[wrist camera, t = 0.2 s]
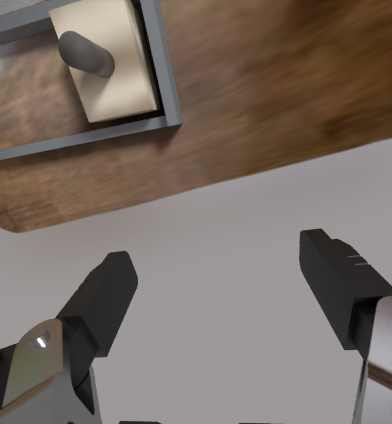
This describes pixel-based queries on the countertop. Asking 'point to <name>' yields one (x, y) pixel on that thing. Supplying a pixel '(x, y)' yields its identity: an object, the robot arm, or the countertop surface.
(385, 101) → the countertop surface
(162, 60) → the frame
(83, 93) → the beige block
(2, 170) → the countertop surface
